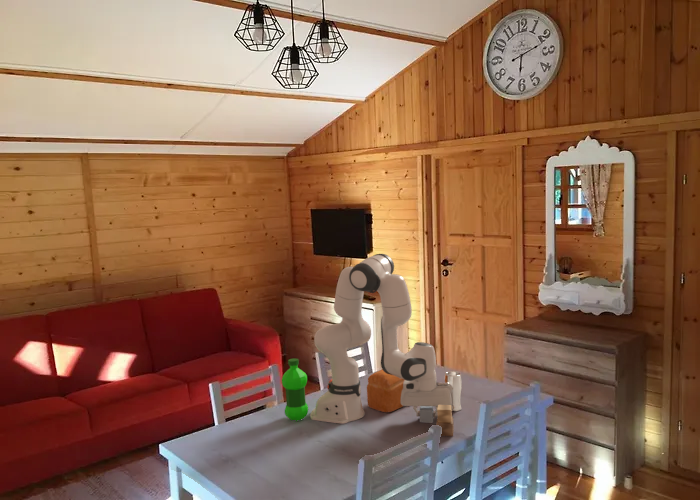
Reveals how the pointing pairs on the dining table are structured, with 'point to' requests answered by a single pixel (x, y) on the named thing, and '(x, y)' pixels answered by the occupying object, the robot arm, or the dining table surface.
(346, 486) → the dining table surface
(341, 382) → the robot arm
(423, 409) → the slate block
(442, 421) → the oak block
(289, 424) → the dining table surface
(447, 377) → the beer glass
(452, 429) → the walnut base block
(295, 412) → the plastic bottle
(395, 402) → the bread
